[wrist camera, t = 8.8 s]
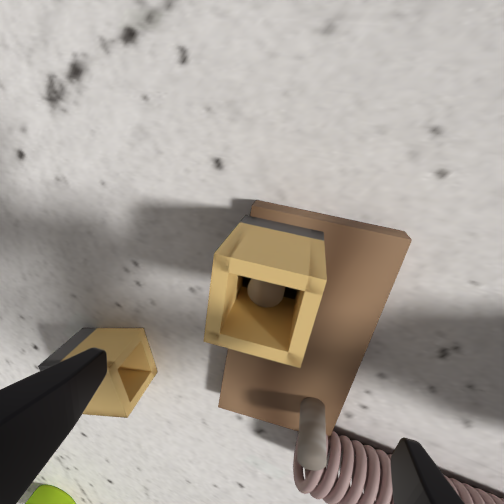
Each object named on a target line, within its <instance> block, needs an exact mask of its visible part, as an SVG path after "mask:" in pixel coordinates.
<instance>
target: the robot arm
mask: <svg viewBox="0 0 504 504" xmlns="http://www.w3.org/2000/svg"><path fill="white" fill-rule="evenodd" d="M106 373H107V353H106V351H105V350H103V349H99V348H95V347H93V348H90V349H87V350H85V351H83V352H81V353H79V354H77V355H74V356H72V357H70V358H68V359H66V360H64V361H61V362H59V363H57V364H55V365H53V366H51V367H48V368H46V369H44V370H42V371H40V372H38V373H35V374H33V375H31V376H29V377H27V378H25V379H22V380H20V381H18V382H16V383H14V384H11V385H9V386H7V387H5V388H3V389H1V390H0V504H16V503H17V502H18V500H19V499H20V498H21V496H22V495H23V494H24V492H25V491H26V490H27V488H28V487H29V486H30V484H31V483H32V482H33V480H34V479H35V478H36V476H37V475H38V474H39V473H40V471H41V470H42V469H43V467H44V466H45V465H46V463H47V462H48V461H49V459H50V458H51V457H52V455H53V454H54V453H55V451H56V450H57V449H58V447H59V446H60V445H61V443H62V442H63V441H64V439H65V438H66V437H67V435H68V434H69V433H70V431H71V430H72V429H73V427H74V426H75V424H76V423H77V421H78V420H79V418H80V417H81V415H82V413H83V412H84V410H85V409H86V407H87V405H88V404H89V402H90V401H91V399H92V397H93V396H94V394H95V392H96V391H97V389H98V388H99V386H100V384H101V383H102V381H103V380H104V378H105V376H106ZM390 464H391V477H392V490H393V502H394V504H465V503H464V502H463V500H462V499H461V498H460V496H459V495H458V494H457V492H456V491H455V490H454V488H453V487H452V486H451V484H450V483H449V482H448V480H447V479H446V478H445V476H444V475H443V474H442V472H441V471H440V469H439V468H438V467H437V465H436V464H435V463H434V461H433V460H432V459H431V457H430V456H429V455H428V453H427V452H426V451H425V449H424V448H423V447H422V445H421V444H420V443H419V442H417V441H415V440H411V439H408V438H402V439H401V440H400V441H399V443H398V445H397V446H396V448H395V450H394V452H393V453H392V456H391V462H390Z"/></svg>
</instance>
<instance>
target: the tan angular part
mask: <svg viewBox="0 0 504 504" xmlns="http://www.w3.org/2000/svg"><path fill="white" fill-rule="evenodd" d="M93 347H95V348H99V349H103V350H105V351H106V353H107V373H106V376H105V378H104V380H103V381H102V383H101V384H100V386H99V388H98V389H97V391H96V392H95V394H94V396H93V397H92V399H91V401H90V402H89V404H88V405H87V407H86V409H85V410H84V412H83V413H82V414H87V415H100V416H112V417H124V418H128V416H129V415H130V413H131V412H132V410H133V409H134V407H135V406H136V404H137V402H138V401H139V399H140V398H141V396H142V395H143V393H144V392H145V390H146V389H147V387H148V386H149V384H150V383H151V381H152V380H153V378H154V377H155V375H156V373H157V368H156V365H155V362H154V359H153V356H152V353H151V350H150V347H149V344H148V341H147V338H146V334H145V331H144V328H82V329H81V330H80V331H79V332H78V333H76V334H75V335H74V336H73V337H72V338H70V339H69V340H68V341H67V342H66V343H65V344H63V345H62V346H61V347H60V348H59V349H58V350H56V351H55V352H54V353H53V354H52V355H50V356H49V357H48V358H47V359H46V360H45V361H43V362H42V363H41V364H40V365H39V366H38V367H39V369H40V371H42V370H44V369H46V368H48V367H51V366H53V365H55V364H57V363H59V362H61V361H64V360H66V359H68V358H70V357H72V356H74V355H77V354H79V353H81V352H83V351H85V350H87V349H90V348H93Z"/></svg>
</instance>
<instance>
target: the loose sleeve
mask: <svg viewBox="0 0 504 504" xmlns="http://www.w3.org/2000/svg"><path fill="white" fill-rule="evenodd" d="M251 278H253V279H257V280H261V281H265V282H269V283H273V284H277V285H282V286H285V291H284V296H283V299H282V301H281V302H280V303H279V304H278V305H276V306H274V307H268V308H266V307H261V306H258V305H257V304H255V303H254V302H253V301H252V300H251V299H250V297H249V295H248V285H249V282H250V280H251ZM326 282H327V274H326V259H325V245H324V232H322V231H317V230H313V229H308V228H303V227H299V226H294V225H290V224H285V223H280V222H276V221H271V220H267V219H262V218H257V217H253V216H248V215H246V216H245V217H244V218H243V219H242V220H241V222H240V223H239V224H238V225H237V226H236V228H235V229H234V230H233V231H232V232H231V234H230V235H229V236H228V237H227V239H226V240H225V241H224V242H223V243H222V245H221V246H220V247H219V248H218V249H217V251H216V252H215V253H214V258H213V267H212V275H211V283H210V292H209V300H208V308H207V317H206V325H205V333H204V342H207V343H210V344H214V345H218V346H221V347H225V348H229V349H232V350H236V351H240V352H243V353H247V354H251V355H254V356H258V357H262V358H265V359H269V360H272V361H276V362H280V363H283V364H287V365H291V366H294V367H298V368H300V367H301V364H302V361H303V357H304V354H305V351H306V348H307V344H308V341H309V338H310V334H311V331H312V328H313V325H314V321H315V318H316V315H317V311H318V308H319V305H320V302H321V298H322V295H323V292H324V288H325V285H326Z"/></svg>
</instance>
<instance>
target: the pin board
mask: <svg viewBox="0 0 504 504" xmlns="http://www.w3.org/2000/svg"><path fill="white" fill-rule="evenodd" d="M250 216H253V217H257V218H262V219H267V220H271V221H276V222H280V223H285V224H290V225H294V226H299V227H303V228H308V229H313V230H317V231H322V232H324V245H325V259H326V274H327V282H326V285H325V288H324V292H323V295H322V298H321V302H320V305H319V308H318V311H317V315H316V318H315V321H314V325H313V328H312V331H311V334H310V338H309V341H308V344H307V348H306V351H305V354H304V357H303V361H302V364H301V367H300V368H298V367H294V366H291V365H287V364H283V363H280V362H276V361H272V360H269V359H265V358H262V357H258V356H254V355H251V354H247V353H243V352H240V351H236V350H232V349H229V348H228V351H227V357H226V363H225V369H224V375H223V381H222V387H221V393H220V399H219V405H218V407H219V408H223V409H226V410H229V411H233V412H236V413H239V414H243V415H246V416H249V417H253V418H256V419H259V420H263V421H266V422H269V423H273V424H276V425H279V426H283V427H286V428H289V429H292V430H296V431H299V436H298V453H297V460H298V463H299V464H300V465H301V466H302V467H304V468H306V469H308V470H313V471H317V470H321V469H323V468H325V467H326V464H327V456H326V434H327V436H328V440H329V438H330V436H331V434H332V431H333V429H334V426H335V424H336V421H337V419H338V417H339V414H340V412H341V409H342V407H343V405H344V402H345V400H346V397H347V395H348V393H349V390H350V388H351V385H352V383H353V381H354V378H355V376H356V373H357V371H358V368H359V366H360V364H361V361H362V359H363V356H364V354H365V352H366V349H367V347H368V344H369V342H370V340H371V337H372V335H373V332H374V330H375V328H376V325H377V323H378V320H379V318H380V316H381V313H382V311H383V308H384V306H385V303H386V301H387V299H388V296H389V294H390V291H391V289H392V287H393V284H394V282H395V279H396V277H397V275H398V272H399V270H400V267H401V265H402V263H403V260H404V258H405V255H406V253H407V250H408V248H409V246H410V243H411V241H412V240H411V238H410V237H409V236H408V235H407V234H406V233H405V231H400V230H396V229H391V228H386V227H382V226H377V225H372V224H367V223H363V222H358V221H353V220H349V219H344V218H339V217H335V216H330V215H325V214H320V213H316V212H311V211H306V210H302V209H297V208H292V207H288V206H283V205H278V204H273V203H269V202H264V201H259V200H256V201H255V203H254V204H253V205H252V208H251V214H250ZM284 291H285V286H282V285H277V284H273V283H269V282H265V281H261V280H257V279H253V278H251V280H250V282H249V285H248V295H249V297H250V299H251V300H252V301H253V302H254V303H255V304H257V305H258V306H261V307H266V308H268V307H274V306H276V305H278V304H279V303H280V302H281V301H282V299H283V296H284Z"/></svg>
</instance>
